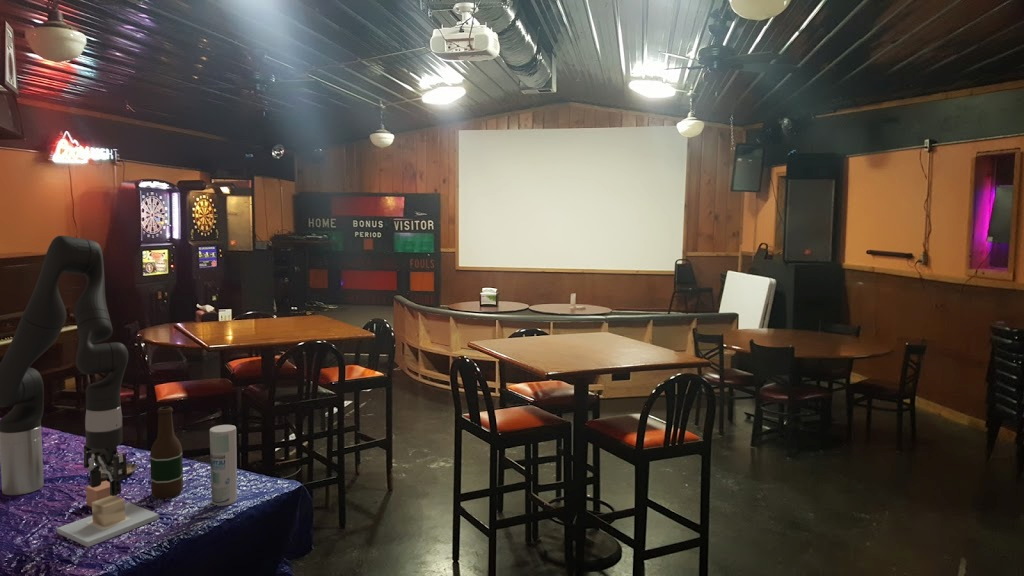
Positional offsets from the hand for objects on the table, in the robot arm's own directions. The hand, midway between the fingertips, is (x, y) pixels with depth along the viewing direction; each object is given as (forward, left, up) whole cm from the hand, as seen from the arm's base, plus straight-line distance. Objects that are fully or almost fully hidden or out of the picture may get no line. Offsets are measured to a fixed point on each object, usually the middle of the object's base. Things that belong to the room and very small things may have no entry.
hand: (105, 490), depth 160 cm
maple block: (0, 0, -8) cm, 8 cm away
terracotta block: (-14, +7, -9) cm, 18 cm away
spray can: (+11, +25, -9) cm, 28 cm away
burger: (-31, +20, -10) cm, 38 cm away
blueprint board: (0, +1, -9) cm, 9 cm away
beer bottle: (-6, +20, -9) cm, 22 cm away
